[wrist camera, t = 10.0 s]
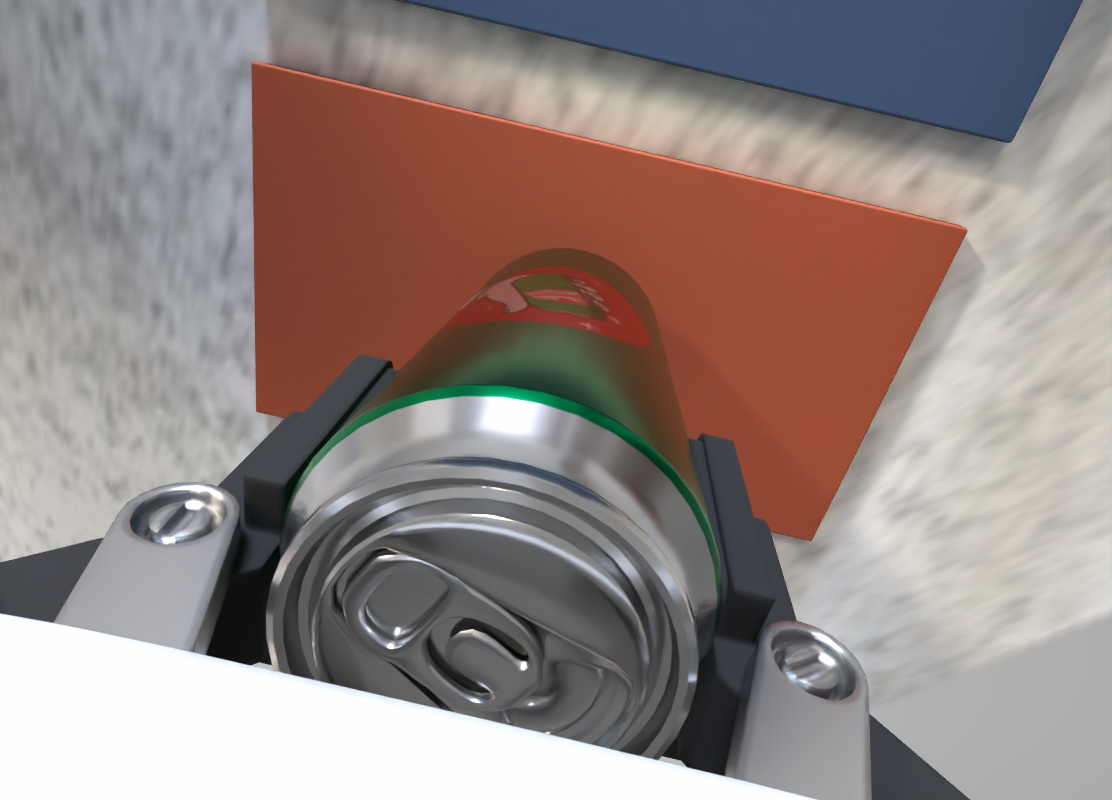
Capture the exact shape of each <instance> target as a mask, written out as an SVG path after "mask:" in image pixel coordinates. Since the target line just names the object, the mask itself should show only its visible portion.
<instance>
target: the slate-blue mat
mask: <svg viewBox="0 0 1112 800" xmlns="http://www.w3.org/2000/svg"><path fill="white" fill-rule="evenodd" d="M398 1H402V2H406V3H410V4H415V5H419V6H423V7H427V8H432V9H436V10H440V11H445V12H449V13H453V14H457V15H462V16H466V17H470V18H475V19H479V20H483V21H487V22H492V23H496V24H500V25H505V26H509V27H513V28H517V29H522V30H526V31H530V32H534V33H539V34H543V35H547V36H552V37H556V38H560V39H564V40H569V41H573V42H577V43H582V44H586V45H590V46H594V47H599V48H603V49H607V50H612V51H616V52H620V53H624V54H629V55H633V56H637V57H641V58H646V59H650V60H654V61H659V62H663V63H667V64H671V65H676V66H680V67H684V68H689V69H693V70H697V71H701V72H706V73H710V74H714V75H719V76H723V77H727V78H731V79H736V80H740V81H744V82H749V83H753V84H757V85H761V86H766V87H770V88H774V89H778V90H783V91H787V92H791V93H796V94H800V95H804V96H808V97H813V98H817V99H821V100H826V101H830V102H834V103H838V104H843V105H847V106H851V107H856V108H860V109H864V110H868V111H873V112H877V113H881V114H885V115H890V116H894V117H898V118H903V119H907V120H911V121H915V122H920V123H924V124H928V125H933V126H937V127H941V128H945V129H950V130H954V131H958V132H963V133H967V134H971V135H975V136H980V137H984V138H988V139H992V140H997V141H1001V142H1006V143H1010V142H1012V141H1013V139H1014V137H1015V135H1016V133H1017V131H1018V129H1019V127H1020V125H1021V123H1022V121H1023V119H1024V117H1025V115H1026V113H1027V111H1028V109H1029V107H1030V105H1031V103H1032V101H1033V99H1034V97H1035V95H1036V93H1037V91H1038V89H1039V87H1040V85H1041V83H1042V81H1043V79H1044V77H1045V75H1046V73H1047V71H1048V69H1049V67H1050V65H1051V63H1052V61H1053V59H1054V57H1055V55H1056V53H1057V51H1058V49H1059V47H1060V45H1061V43H1062V41H1063V39H1064V37H1065V35H1066V33H1067V31H1068V29H1069V27H1070V25H1071V23H1072V21H1073V19H1074V17H1075V15H1076V13H1077V11H1078V9H1079V7H1080V5H1081V3H1082V1H1083V0H398Z"/></svg>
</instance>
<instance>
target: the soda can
mask: <svg viewBox="0 0 1112 800" xmlns="http://www.w3.org/2000/svg"><path fill="white" fill-rule="evenodd" d="M721 599H722V578H721V568H720V558H719V554H718V550H717V546H716V542H715V538H714V535H713V531H712V527H711V523H710V520H709V516H708V512H707V508H706V504H705V501H704V497H703V493H702V489H701V485H700V482H699V478H698V474H697V470H696V466H695V463H694V459H693V455H692V451H691V447H690V444H689V440H688V436H687V432H686V429H685V425H684V421H683V417H682V413H681V410H680V406H679V402H678V398H677V394H676V391H675V387H674V383H673V379H672V375H671V372H670V368H669V364H668V360H667V356H666V353H665V349H664V345H663V341H662V337H661V334H660V330H659V326H658V323H657V319H656V316H655V312H654V310H653V307H652V305H651V303H650V301H649V299H648V297H647V296H646V294H645V293H644V291H643V290H642V288H641V287H640V285H639V284H638V283H637V282H636V281H635V280H634V279H633V278H632V277H631V276H630V275H629V274H628V273H627V272H626V271H625V270H623V269H622V268H621V267H619V266H618V265H616V264H615V263H613V262H611V261H610V260H608V259H606V258H604V257H602V256H600V255H597V254H594V253H591V252H587V251H584V250H577V249H571V248H552V249H545V250H539V251H536V252H533V253H530V254H527V255H524V256H521V257H520V258H518V259H516V260H514V261H512V262H510V263H508V264H507V265H506V266H504V267H503V268H502V269H501V270H499V271H498V272H497V273H496V274H495V275H494V276H493V277H492V278H491V279H490V280H489V281H488V282H487V283H486V284H485V285H484V286H483V287H482V288H481V289H480V290H479V291H478V292H477V293H476V294H475V295H474V296H473V297H472V298H471V299H470V300H469V301H468V302H467V303H466V304H465V305H464V306H463V307H462V308H461V309H460V310H459V311H458V312H457V313H456V314H455V315H454V316H453V317H452V318H451V319H450V320H449V321H448V322H447V323H446V324H445V325H444V326H443V327H442V328H441V329H440V330H439V331H438V332H437V333H436V334H435V335H434V336H433V337H432V338H431V339H430V340H429V341H428V342H427V343H426V344H425V345H424V346H423V347H422V348H421V349H420V350H419V351H418V352H417V353H416V354H415V355H414V356H413V357H412V358H411V359H410V360H409V361H408V362H407V363H406V364H405V365H404V366H403V367H402V368H401V369H400V370H399V371H398V372H397V373H396V374H395V375H394V376H393V377H392V378H391V379H390V380H389V381H388V382H387V383H386V384H385V385H384V386H383V387H382V388H381V389H380V390H379V391H378V392H377V393H376V394H375V395H374V396H373V397H372V398H371V399H370V400H369V401H368V402H367V403H366V404H365V405H364V406H363V407H362V408H361V409H360V410H359V411H358V412H357V413H356V414H355V415H354V416H353V417H352V418H351V419H350V420H349V421H348V422H347V423H346V424H345V425H344V426H343V427H342V428H341V429H340V430H339V431H338V432H337V433H336V434H335V435H334V436H333V437H332V438H331V439H330V440H329V441H328V442H327V444H326V445H325V446H324V447H323V448H322V449H321V450H320V451H319V452H318V453H317V454H316V455H315V456H314V457H313V459H312V460H311V462H310V463H309V465H308V466H307V468H306V470H305V471H304V473H303V474H302V476H301V477H300V479H299V481H298V482H297V484H296V485H295V488H294V491H293V493H292V496H291V498H290V501H289V504H288V506H287V509H286V511H285V515H284V520H283V526H282V532H281V537H280V561H279V564H278V566H277V569H276V571H275V574H274V576H273V579H272V582H271V586H270V592H269V597H268V603H267V609H266V638H267V643H268V648H269V653H270V658H271V662H272V666H273V669H274V671H277V672H281V673H285V674H290V675H294V676H299V677H303V678H308V679H312V680H316V681H321V682H325V683H330V684H334V685H338V686H343V687H347V688H352V689H356V690H360V691H365V692H369V693H373V694H377V695H382V696H386V697H390V698H395V699H399V700H403V701H408V702H412V703H416V704H421V705H425V706H429V707H434V708H438V709H442V710H446V711H451V712H455V713H459V714H464V715H468V716H472V717H477V718H481V719H485V720H489V721H494V722H498V723H502V724H506V725H511V726H515V727H519V728H524V729H528V730H532V731H536V732H541V733H545V734H549V735H553V736H558V737H562V738H566V739H571V740H575V741H579V742H583V743H587V744H591V745H596V746H600V747H604V748H608V749H612V750H617V751H621V752H625V753H629V754H633V755H637V756H642V757H646V758H650V759H654V760H658V759H659V758H660V757H661V756H662V755H663V753H664V752H665V751H666V750H667V748H668V747H669V746H670V745H671V743H672V742H673V741H674V740H675V738H676V737H677V735H678V733H679V731H680V729H681V727H682V725H683V723H684V721H685V719H686V717H687V716H688V714H689V710H690V707H691V703H692V700H693V696H694V693H695V690H696V686H697V682H698V672H699V670H700V668H701V666H702V664H703V662H704V660H705V658H706V656H707V654H708V652H709V650H710V649H711V646H712V643H713V640H714V636H715V633H716V629H717V626H718V623H719V619H720V610H721Z"/></svg>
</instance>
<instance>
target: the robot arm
mask: <svg viewBox="0 0 1112 800" xmlns="http://www.w3.org/2000/svg"><path fill="white" fill-rule="evenodd" d="M398 371H399V370H395V369H393V363H392V361H390V360H386V359H382V358H378V357H373V356H369V355H365V354H359V355H358V356H357V357H356V358H355V359H354V360H353V361H352V362H351V363H350V364H349V365H348V366H347V367H346V369H345V370H344V371H343V372H342V373H341V374H340V375H339V376H338V377H337V378H336V379H335V380H334V381H333V382H332V383H331V384H330V385H329V386H328V387H327V388H326V389H325V390H324V391H323V393H322V394H321V395H320V396H319V397H318V398H317V399H316V400H315V401H314V402H313V403H312V404H311V405H310V406H309V407H308V408H307V409H306V410H305V411H304V412H301V411H293V412H292V413H291V414H289V415H288V416H287V417H286V418H285V419H284V420H283V421H282V422H281V423H280V424H279V425H278V426H277V427H276V428H275V429H274V430H273V431H272V432H271V433H270V434H269V435H268V436H267V437H266V438H265V439H264V440H263V441H262V442H261V443H260V444H259V445H258V446H257V447H256V448H255V449H254V450H253V451H252V452H251V453H250V454H249V455H248V456H247V457H246V458H245V459H244V460H243V461H242V462H241V463H240V464H239V465H238V466H237V467H236V468H235V469H234V470H233V471H232V472H231V473H230V474H229V475H228V476H227V477H226V478H225V479H224V480H223V481H222V482H221V483H220V484H219V485H218V486H214V485H211V484H203V483H196V482H192V483H175V484H170V485H165V486H160V487H157V488H155V489H152V490H149V491H147V492H144V493H142V494H140V495H139V496H137V497H136V498H134V499H132V500H131V501H129V502H128V503H127V504H126V505H125V506H124V508H123V509H122V510H121V511H120V512H119V513H118V515H117V517H116V518H115V520H114V522H113V523H112V525H111V527H110V528H109V530H108V532H107V533H106V535H105V537H104V538H100V539H96V540H91V541H87V542H83V543H79V544H75V545H71V546H67V547H63V548H58V549H54V550H50V551H46V552H42V553H38V554H34V555H30V556H26V557H21V558H17V559H13V560H9V561H5V562H1V563H0V800H970V799H968V798H967V797H966V796H965V795H964V794H963V793H961V792H960V791H959V790H958V789H957V788H956V787H954V786H953V785H952V784H951V783H950V782H949V781H947V780H946V779H945V778H944V777H942V776H941V775H940V774H939V773H938V772H937V771H936V770H935V769H933V768H932V767H931V766H930V765H929V764H928V763H926V762H925V761H924V760H922V758H920V757H919V756H918V755H917V754H916V753H915V752H913V751H912V750H911V749H910V748H909V747H908V746H906V745H905V744H904V743H903V742H902V741H901V740H899V739H898V738H897V737H896V736H895V735H894V734H892V733H891V732H890V731H889V730H888V729H887V728H885V727H884V726H883V725H882V724H881V723H879V722H878V721H877V720H876V719H875V718H874V717H872V716H871V715H870V714H869V692H868V684H867V679H866V675H865V673H864V671H863V669H862V667H861V666H860V664H859V662H858V660H857V659H856V658H855V657H854V656H853V655H852V653H851V652H850V651H849V650H848V649H847V648H846V647H845V646H844V645H843V644H841V643H840V642H839V641H838V640H836V639H835V638H834V637H833V636H831V635H829V634H828V633H826V632H824V631H822V630H820V629H819V628H817V627H814V626H811V625H808V624H805V623H802V622H798V621H797V620H796V617H795V613H794V610H793V607H792V603H791V600H790V596H789V593H788V590H787V586H786V583H785V580H784V576H783V573H782V569H781V566H780V563H779V559H778V556H777V553H776V549H775V546H774V542H773V539H772V536H771V532H770V529H769V526H768V524H767V522H766V521H765V520H763V519H759V518H755V517H754V516H753V512H752V508H751V505H750V501H749V497H748V493H747V490H746V486H745V482H744V479H743V475H742V471H741V467H740V464H739V460H738V456H737V452H736V449H735V445H734V442H733V440H729V439H725V438H721V437H716V436H712V435H708V434H703V433H702V434H701V435H700V436H699V437H698V439H697V440H695V439H691V438H689V439H688V440H689V444H690V447H691V451H692V455H693V459H694V463H695V466H696V470H697V474H698V478H699V482H700V485H701V489H702V493H703V497H704V501H705V504H706V508H707V512H708V516H709V520H710V523H711V527H712V531H713V535H714V538H715V542H716V546H717V550H718V554H719V558H720V568H721V578H722V599H721V610H720V619H719V623H718V626H717V629H716V633H715V636H714V640H713V643H712V646H711V649H710V650H709V652H708V654H707V656H706V658H705V660H704V662H703V664H702V666H701V668H700V670H699V672H698V682H697V686H696V690H695V693H694V696H693V700H692V703H691V707H690V710H689V714H688V716H687V717H686V719H685V721H684V723H683V725H682V727H681V729H680V731H679V733H678V735H677V737H676V738H675V740H674V741H673V742H672V743H671V745H670V746H669V747H668V748H667V750H666V751H665V752H664V753H663V755H662V756H664V757H668V758H673V759H677V760H681V761H682V762H683V763H684V764H685V765H686V766H687V767H684V766H679V765H675V764H671V763H667V762H663V761H658V760H654V759H650V758H646V757H642V756H637V755H633V754H629V753H625V752H621V751H617V750H612V749H608V748H604V747H600V746H596V745H591V744H587V743H583V742H579V741H575V740H571V739H566V738H562V737H558V736H553V735H549V734H545V733H541V732H536V731H532V730H528V729H524V728H519V727H515V726H511V725H506V724H502V723H498V722H494V721H489V720H485V719H481V718H477V717H472V716H468V715H464V714H459V713H455V712H451V711H446V710H442V709H438V708H434V707H429V706H425V705H421V704H416V703H412V702H408V701H403V700H399V699H395V698H390V697H386V696H382V695H377V694H373V693H369V692H365V691H360V690H356V689H352V688H347V687H343V686H338V685H334V684H330V683H325V682H321V681H316V680H312V679H308V678H303V677H299V676H294V675H290V674H285V673H281V672H277V671H272V670H268V669H263V668H259V667H254V666H251V665H253V664H256V663H258V662H261V663H265V664H269V665H272V662H271V658H270V653H269V648H268V643H267V638H266V609H267V603H268V597H269V592H270V586H271V582H272V579H273V576H274V574H275V571H276V569H277V566H278V564H279V561H280V537H281V532H282V526H283V520H284V515H285V511H286V509H287V506H288V504H289V501H290V498H291V496H292V493H293V491H294V488H295V485H296V484H297V482H298V481H299V479H300V477H301V476H302V474H303V473H304V471H305V470H306V468H307V466H308V465H309V463H310V462H311V460H312V459H313V457H314V456H315V455H316V454H317V453H318V452H319V451H320V450H321V449H322V448H323V447H324V446H325V445H326V444H327V442H328V441H329V440H330V439H331V438H332V437H333V436H334V435H335V434H336V433H337V432H338V431H339V430H340V429H341V428H342V427H343V426H344V425H345V424H346V423H347V422H348V421H349V420H350V419H351V418H352V417H353V416H354V415H355V414H356V413H357V412H358V411H359V410H360V409H361V408H362V407H363V406H364V405H365V404H366V403H367V402H368V401H369V400H370V399H371V398H372V397H373V396H374V395H375V394H376V393H377V392H378V391H379V390H380V389H381V388H382V387H383V386H384V385H385V384H386V383H387V382H388V381H389V380H390V379H391V378H392V377H393V376H394V375H395V374H396V373H397V372H398Z"/></svg>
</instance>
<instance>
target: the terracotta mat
mask: <svg viewBox="0 0 1112 800" xmlns="http://www.w3.org/2000/svg"><path fill="white" fill-rule="evenodd" d="M252 130H253V206H254V281H255V356H256V411H257V412H260V413H264V414H269V415H273V416H277V417H281V418H286V417H287V416H288V415H289V414H291V413H292V412H293V411H301V412H304V411H305V410H306V409H307V408H308V407H309V406H310V405H311V404H312V403H313V402H314V401H315V400H316V399H317V398H318V397H319V396H320V395H321V394H322V393H323V391H324V390H325V389H326V388H327V387H328V386H329V385H330V384H331V383H332V382H333V381H334V380H335V379H336V378H337V377H338V376H339V375H340V374H341V373H342V372H343V371H344V370H345V369H346V367H347V366H348V365H349V364H350V363H351V362H352V361H353V360H354V359H355V358H356V357H357V356H358V355H359V354H365V355H369V356H373V357H378V358H382V359H386V360H390V361H392V363H393V369H395V370H400V369H401V368H402V367H403V366H404V365H405V364H406V363H407V362H408V361H409V360H410V359H411V358H412V357H413V356H414V355H415V354H416V353H417V352H418V351H419V350H420V349H421V348H422V347H423V346H424V345H425V344H426V343H427V342H428V341H429V340H430V339H431V338H432V337H433V336H434V335H435V334H436V333H437V332H438V331H439V330H440V329H441V328H442V327H443V326H444V325H445V324H446V323H447V322H448V321H449V320H450V319H451V318H452V317H453V316H454V315H455V314H456V313H457V312H458V311H459V310H460V309H461V308H462V307H463V306H464V305H465V304H466V303H467V302H468V301H469V300H470V299H471V298H472V297H473V296H474V295H475V294H476V293H477V292H478V291H479V290H480V289H481V288H482V287H483V286H484V285H485V284H486V283H487V282H488V281H489V280H490V279H491V278H492V277H493V276H494V275H495V274H496V273H497V272H498V271H499V270H501V269H502V268H503V267H504V266H506V265H507V264H508V263H510V262H512V261H514V260H516V259H518V258H520V257H521V256H524V255H527V254H530V253H533V252H536V251H539V250H545V249H552V248H571V249H577V250H584V251H587V252H591V253H594V254H597V255H600V256H602V257H604V258H606V259H608V260H610V261H611V262H613V263H615V264H616V265H618V266H619V267H621V268H622V269H623V270H625V271H626V272H627V273H628V274H629V275H630V276H631V277H632V278H633V279H634V280H635V281H636V282H637V283H638V284H639V285H640V287H641V288H642V290H643V291H644V293H645V294H646V296H647V297H648V299H649V301H650V303H651V305H652V307H653V310H654V312H655V316H656V319H657V323H658V326H659V330H660V334H661V337H662V341H663V345H664V349H665V353H666V356H667V360H668V364H669V368H670V372H671V375H672V379H673V383H674V387H675V391H676V394H677V398H678V402H679V406H680V410H681V413H682V417H683V421H684V425H685V429H686V432H687V436H688V439H689V438H691V439H695V440H697V439H698V437H699V436H700V435H701V434H702V433H703V434H708V435H712V436H716V437H721V438H725V439H729V440H733V442H734V445H735V449H736V452H737V456H738V460H739V464H740V467H741V471H742V475H743V479H744V482H745V486H746V490H747V493H748V497H749V501H750V505H751V508H752V512H753V516H754V517H755V518H759V519H763V520H765V521H766V522H767V524H768V526H769V529H770V532H774V533H778V534H783V535H787V536H791V537H795V538H800V539H804V540H808V541H812V539H813V537H814V535H815V533H816V531H817V529H818V527H819V525H820V523H821V521H822V519H823V517H824V515H825V513H826V511H827V509H828V507H829V505H830V503H831V502H832V500H833V498H834V496H835V494H836V492H837V490H838V488H839V486H840V484H841V482H842V480H843V478H844V476H845V474H846V472H847V470H848V468H849V466H850V464H851V462H852V460H853V458H854V456H855V454H856V452H857V450H858V448H859V446H860V444H861V442H862V440H863V438H864V436H865V434H866V432H867V430H868V428H869V426H870V424H871V422H872V420H873V418H874V416H875V414H876V412H877V410H878V408H879V406H880V404H881V402H882V400H883V398H884V396H885V394H886V392H887V390H888V388H889V386H890V384H891V382H892V380H893V378H894V376H895V374H896V372H897V370H898V368H899V366H900V364H901V362H902V360H903V358H904V356H905V354H906V352H907V350H908V348H909V346H910V344H911V342H912V340H913V338H914V336H915V334H916V332H917V330H918V328H919V326H920V324H921V322H922V320H923V318H924V316H925V314H926V312H927V310H928V308H929V306H930V304H931V302H932V300H933V298H934V296H935V294H936V293H937V291H938V289H939V287H940V285H941V283H942V281H943V279H944V277H945V275H946V273H947V271H948V269H949V267H950V265H951V263H952V261H953V259H954V257H955V255H956V253H957V251H958V249H959V247H960V245H961V243H962V241H963V239H964V237H965V235H966V233H967V229H966V228H964V227H962V226H960V225H956V224H952V223H948V222H944V221H939V220H935V219H931V218H926V217H922V216H918V215H914V214H909V213H905V212H901V211H896V210H892V209H888V208H884V207H879V206H875V205H871V204H866V203H862V202H858V201H854V200H849V199H845V198H841V197H837V196H832V195H828V194H824V193H819V192H815V191H811V190H807V189H802V188H798V187H794V186H789V185H785V184H781V183H777V182H772V181H768V180H764V179H759V178H755V177H751V176H747V175H742V174H738V173H734V172H730V171H725V170H721V169H717V168H712V167H708V166H704V165H700V164H695V163H691V162H687V161H682V160H678V159H674V158H670V157H665V156H661V155H657V154H652V153H648V152H644V151H640V150H635V149H631V148H627V147H622V146H618V145H614V144H610V143H605V142H601V141H597V140H593V139H588V138H584V137H580V136H575V135H571V134H567V133H563V132H558V131H554V130H550V129H545V128H541V127H537V126H533V125H528V124H524V123H520V122H515V121H511V120H507V119H503V118H498V117H494V116H490V115H486V114H481V113H477V112H473V111H468V110H464V109H460V108H456V107H451V106H447V105H443V104H438V103H434V102H430V101H426V100H421V99H417V98H413V97H408V96H404V95H400V94H396V93H391V92H387V91H383V90H378V89H374V88H370V87H366V86H361V85H357V84H353V83H349V82H344V81H340V80H336V79H331V78H327V77H323V76H319V75H314V74H310V73H306V72H301V71H297V70H293V69H289V68H284V67H280V66H276V65H271V64H267V63H263V62H252Z"/></svg>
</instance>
